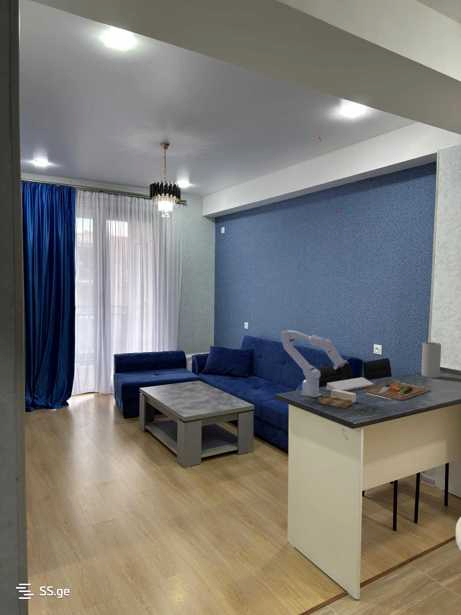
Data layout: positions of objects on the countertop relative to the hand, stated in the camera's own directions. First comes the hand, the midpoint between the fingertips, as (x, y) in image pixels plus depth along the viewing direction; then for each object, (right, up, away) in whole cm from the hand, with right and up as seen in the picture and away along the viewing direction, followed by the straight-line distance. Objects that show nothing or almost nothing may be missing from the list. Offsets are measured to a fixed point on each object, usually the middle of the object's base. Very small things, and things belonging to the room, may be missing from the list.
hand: (349, 376), depth 235 cm
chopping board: (+38, -14, +27) cm, 49 cm away
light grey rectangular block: (-2, -14, +5) cm, 15 cm away
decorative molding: (+11, -14, +34) cm, 38 cm away
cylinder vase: (+82, -12, +72) cm, 110 cm away
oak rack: (-9, -15, -4) cm, 18 cm away
